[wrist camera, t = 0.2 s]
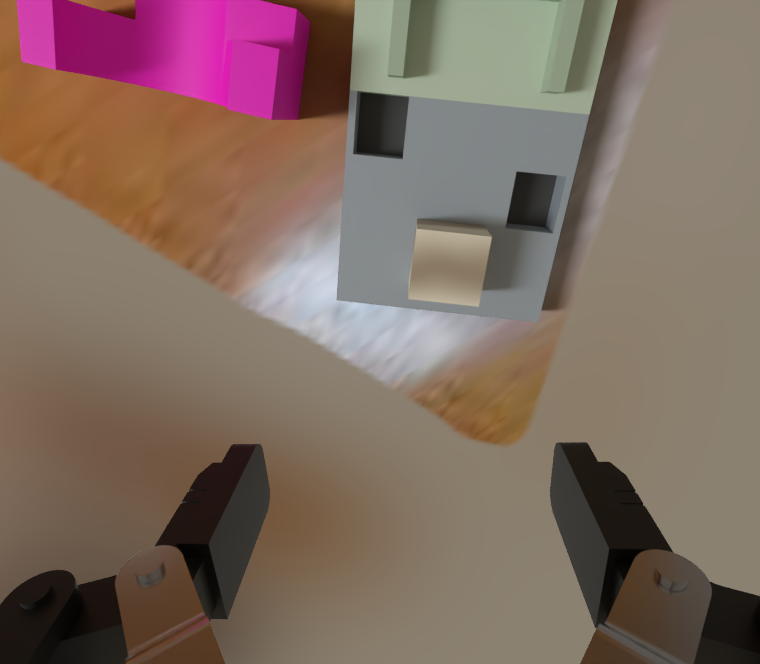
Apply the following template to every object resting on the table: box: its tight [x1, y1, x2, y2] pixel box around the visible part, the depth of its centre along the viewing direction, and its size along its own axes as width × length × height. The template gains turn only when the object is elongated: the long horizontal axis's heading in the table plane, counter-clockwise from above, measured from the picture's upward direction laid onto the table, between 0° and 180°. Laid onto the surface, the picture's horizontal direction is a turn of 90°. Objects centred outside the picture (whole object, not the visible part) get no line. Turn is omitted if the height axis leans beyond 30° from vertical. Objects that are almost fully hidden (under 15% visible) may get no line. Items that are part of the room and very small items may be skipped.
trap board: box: [337, 0, 618, 322], centre depth 34 cm, size 22×16×4 cm
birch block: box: [408, 219, 492, 307], centre depth 35 cm, size 5×5×4 cm
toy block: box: [17, 0, 311, 120], centre depth 31 cm, size 15×6×8 cm, turn 78°
